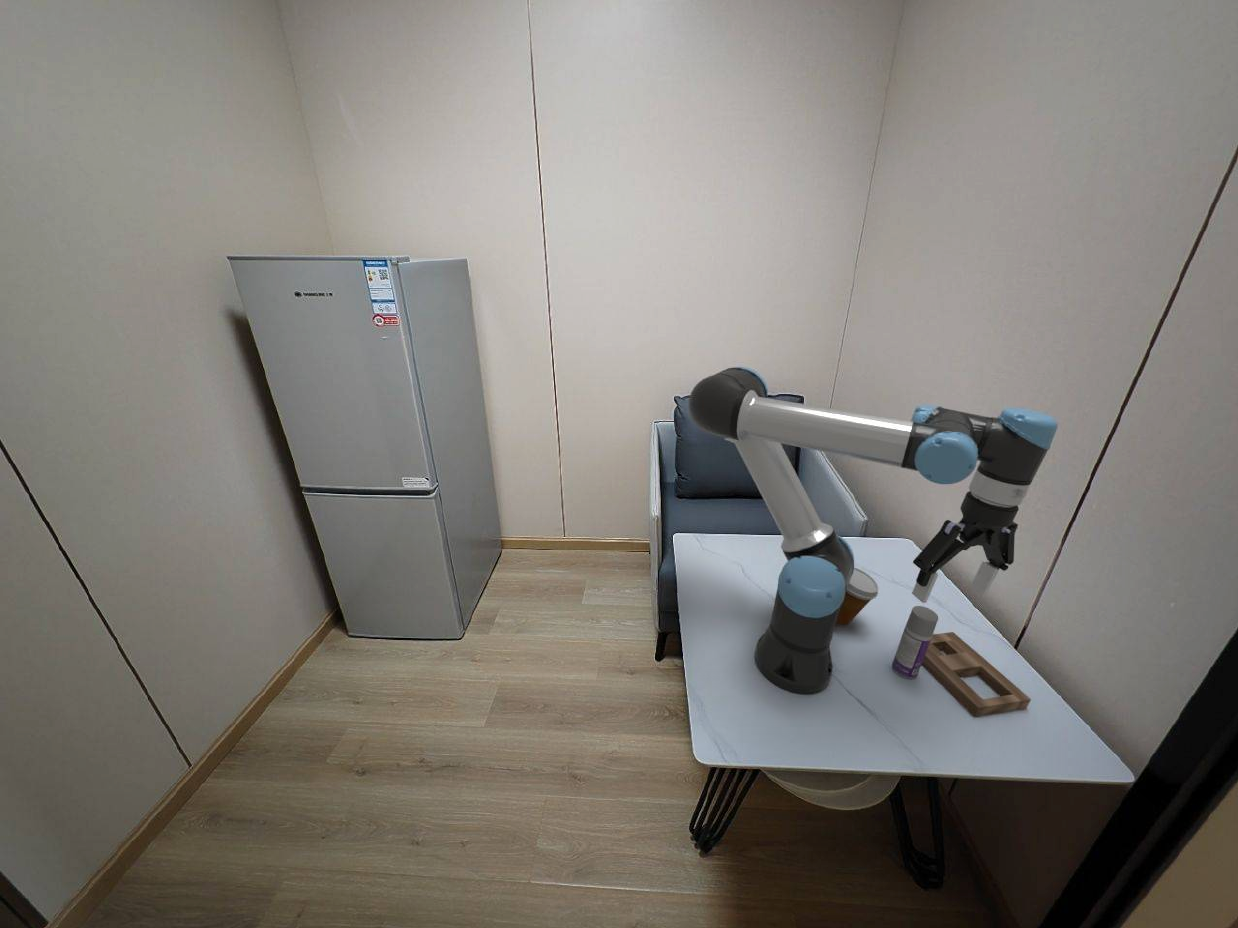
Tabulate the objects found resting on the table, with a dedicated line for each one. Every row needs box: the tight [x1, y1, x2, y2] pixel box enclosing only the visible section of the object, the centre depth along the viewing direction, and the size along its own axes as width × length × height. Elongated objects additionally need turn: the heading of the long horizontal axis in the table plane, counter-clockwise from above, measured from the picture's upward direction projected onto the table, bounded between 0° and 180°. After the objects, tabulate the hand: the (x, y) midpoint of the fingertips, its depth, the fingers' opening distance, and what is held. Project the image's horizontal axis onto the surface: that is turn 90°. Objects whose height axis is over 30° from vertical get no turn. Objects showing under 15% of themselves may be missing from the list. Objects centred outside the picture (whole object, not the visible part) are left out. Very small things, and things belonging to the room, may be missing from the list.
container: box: [891, 605, 939, 680], centre depth 95 cm, size 5×5×15 cm
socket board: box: [921, 631, 1032, 718], centre depth 97 cm, size 12×18×2 cm, turn 11°
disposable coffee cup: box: [835, 566, 879, 627], centre depth 109 cm, size 10×10×12 cm
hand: (948, 595), depth 90 cm, fingers open, 13 cm apart
